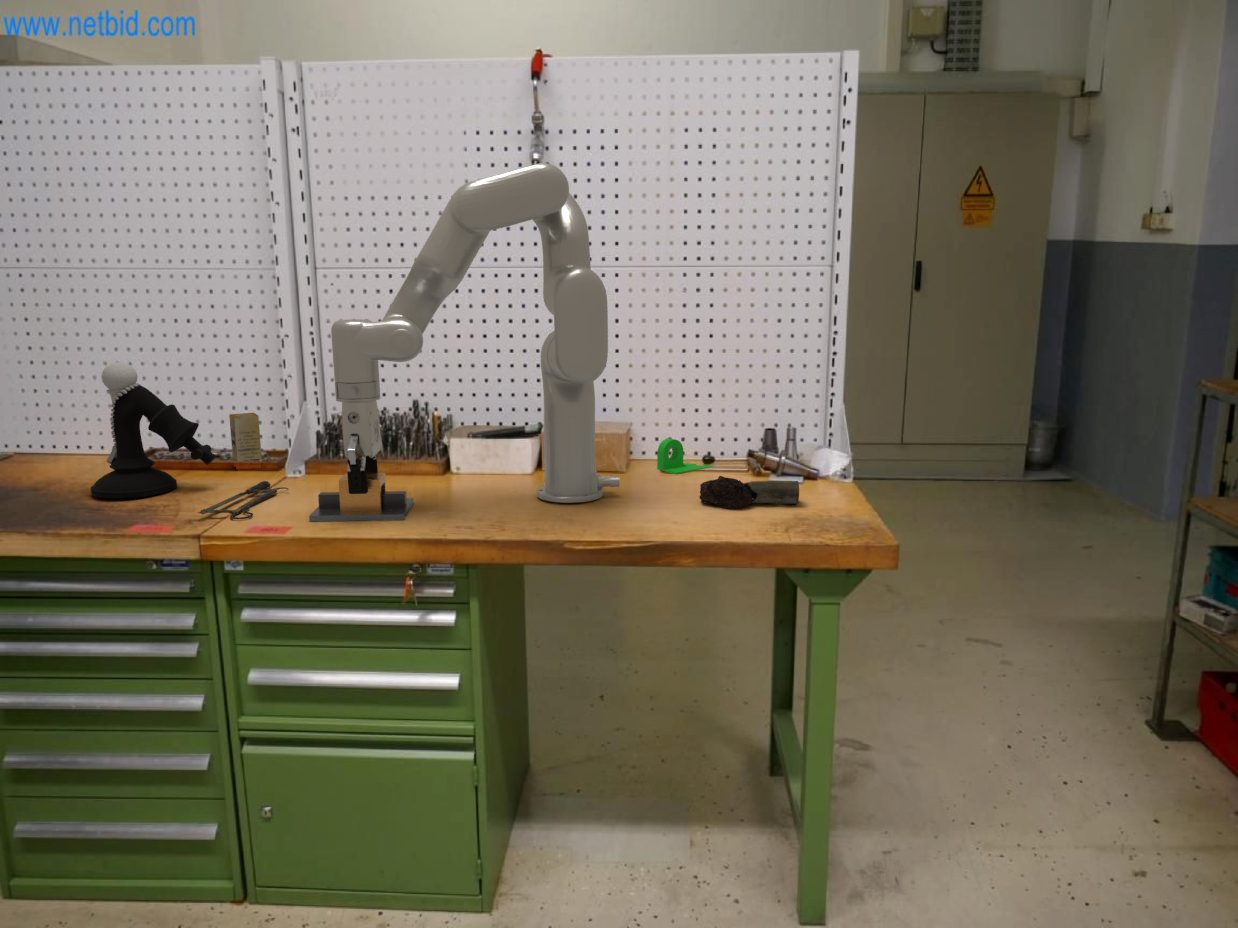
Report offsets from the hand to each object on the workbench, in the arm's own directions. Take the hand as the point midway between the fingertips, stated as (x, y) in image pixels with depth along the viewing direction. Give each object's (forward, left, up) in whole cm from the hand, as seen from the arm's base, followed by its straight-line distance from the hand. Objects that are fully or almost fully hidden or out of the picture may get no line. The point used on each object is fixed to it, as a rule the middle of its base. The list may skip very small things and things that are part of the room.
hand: (364, 487), depth 169 cm
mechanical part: (-62, -28, -5) cm, 68 cm away
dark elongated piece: (-75, +2, -7) cm, 75 cm away
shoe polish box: (+32, -39, -5) cm, 51 cm away
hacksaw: (+27, -9, -5) cm, 29 cm away
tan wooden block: (0, 0, -4) cm, 4 cm away
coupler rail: (0, 0, -5) cm, 5 cm away
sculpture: (+44, -21, -5) cm, 49 cm away
